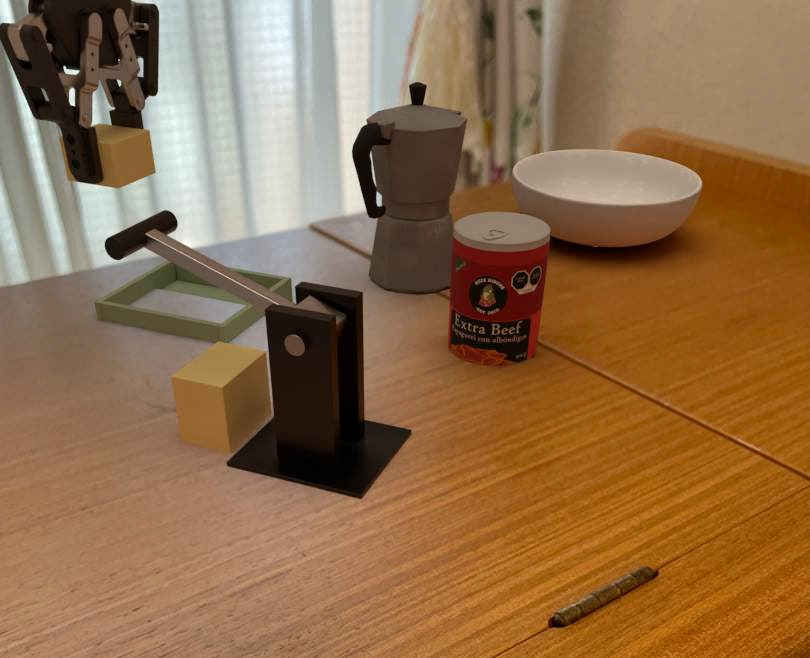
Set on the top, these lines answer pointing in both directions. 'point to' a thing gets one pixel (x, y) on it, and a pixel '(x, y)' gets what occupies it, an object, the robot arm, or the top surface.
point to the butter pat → (120, 155)
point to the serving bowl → (605, 195)
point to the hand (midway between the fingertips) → (111, 171)
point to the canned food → (497, 287)
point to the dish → (188, 283)
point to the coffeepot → (411, 191)
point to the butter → (222, 396)
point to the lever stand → (319, 400)
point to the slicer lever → (203, 265)
